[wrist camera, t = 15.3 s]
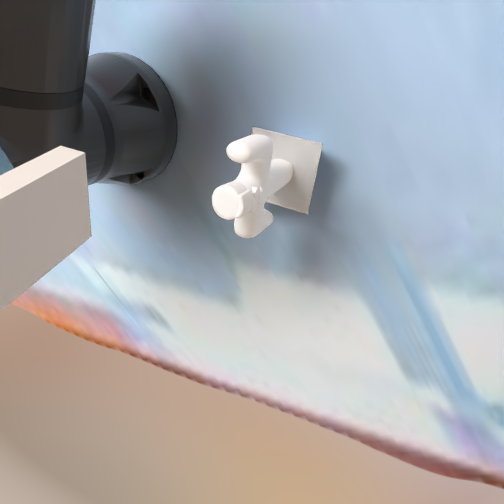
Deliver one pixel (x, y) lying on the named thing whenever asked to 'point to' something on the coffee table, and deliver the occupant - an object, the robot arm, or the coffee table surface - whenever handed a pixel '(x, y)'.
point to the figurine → (267, 179)
